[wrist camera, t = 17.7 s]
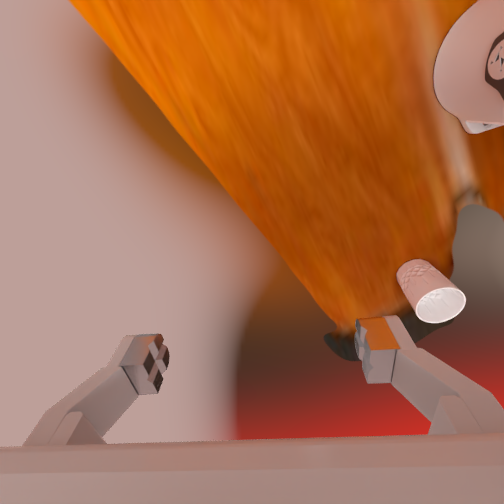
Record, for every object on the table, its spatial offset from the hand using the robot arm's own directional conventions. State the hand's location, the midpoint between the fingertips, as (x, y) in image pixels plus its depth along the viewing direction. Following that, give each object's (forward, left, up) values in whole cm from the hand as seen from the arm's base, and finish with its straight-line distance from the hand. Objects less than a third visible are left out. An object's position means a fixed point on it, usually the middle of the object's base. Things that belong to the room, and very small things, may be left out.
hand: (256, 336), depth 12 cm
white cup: (-27, +27, -39) cm, 55 cm away
